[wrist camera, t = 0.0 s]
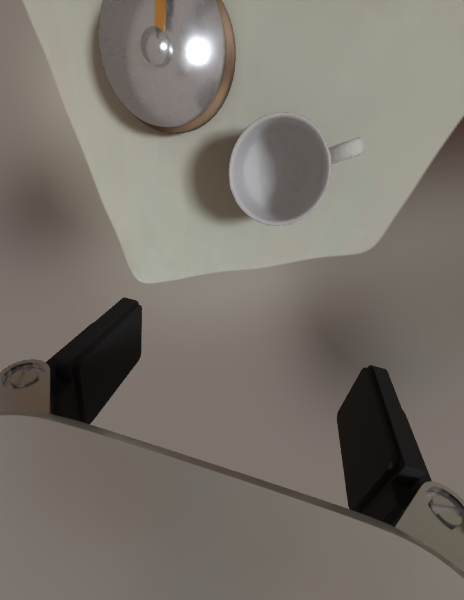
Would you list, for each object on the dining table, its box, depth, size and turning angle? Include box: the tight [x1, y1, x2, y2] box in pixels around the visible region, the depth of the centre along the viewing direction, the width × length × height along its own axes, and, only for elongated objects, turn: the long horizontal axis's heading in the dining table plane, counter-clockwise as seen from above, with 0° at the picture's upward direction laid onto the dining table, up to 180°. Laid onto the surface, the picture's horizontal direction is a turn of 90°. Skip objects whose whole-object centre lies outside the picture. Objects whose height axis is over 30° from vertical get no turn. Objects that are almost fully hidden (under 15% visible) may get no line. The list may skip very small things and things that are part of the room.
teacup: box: [229, 112, 364, 226], centre depth 32 cm, size 14×11×8 cm
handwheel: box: [99, 0, 227, 127], centre depth 29 cm, size 14×14×6 cm
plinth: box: [133, 0, 236, 133], centre depth 32 cm, size 15×15×2 cm
